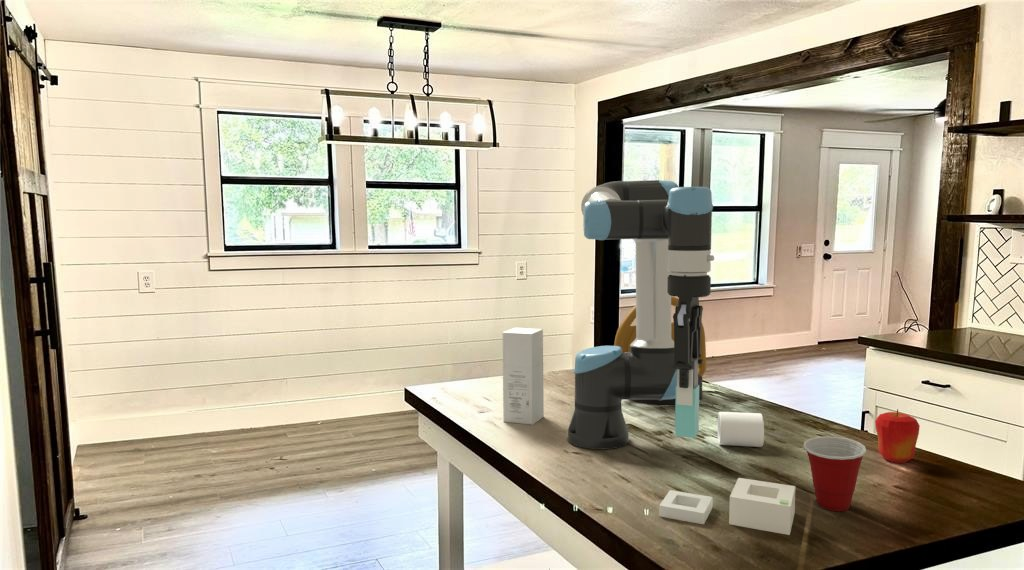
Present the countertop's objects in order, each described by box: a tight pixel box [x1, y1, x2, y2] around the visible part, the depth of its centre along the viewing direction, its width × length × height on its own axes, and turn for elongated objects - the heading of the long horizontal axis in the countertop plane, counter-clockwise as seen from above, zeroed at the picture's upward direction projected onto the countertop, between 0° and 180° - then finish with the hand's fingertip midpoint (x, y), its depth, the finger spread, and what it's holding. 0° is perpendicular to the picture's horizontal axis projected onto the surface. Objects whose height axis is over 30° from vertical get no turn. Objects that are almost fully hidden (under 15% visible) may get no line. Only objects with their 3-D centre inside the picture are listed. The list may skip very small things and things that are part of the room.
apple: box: [874, 408, 921, 464], centre depth 156 cm, size 9×8×12 cm
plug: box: [674, 358, 700, 439], centre depth 126 cm, size 4×4×14 cm
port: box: [728, 477, 796, 536], centre depth 124 cm, size 10×10×6 cm
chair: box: [613, 296, 707, 406], centre depth 216 cm, size 25×35×32 cm
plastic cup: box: [803, 435, 867, 512], centre depth 131 cm, size 11×11×12 cm
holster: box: [658, 489, 713, 525], centre depth 127 cm, size 8×8×3 cm
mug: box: [717, 411, 765, 448], centre depth 170 cm, size 12×10×8 cm
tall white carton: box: [502, 327, 545, 426], centre depth 191 cm, size 9×9×25 cm
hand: (687, 401), depth 126 cm, fingers closed on plug, 3 cm apart
